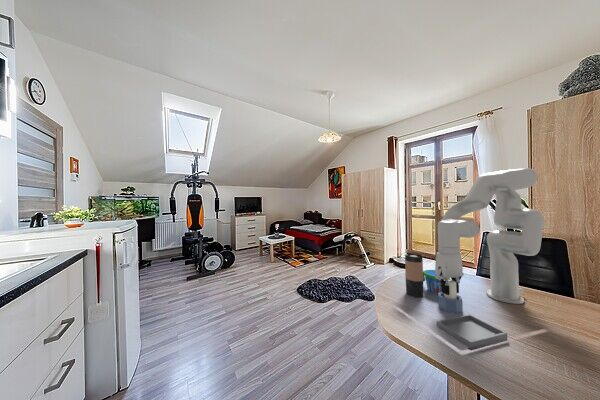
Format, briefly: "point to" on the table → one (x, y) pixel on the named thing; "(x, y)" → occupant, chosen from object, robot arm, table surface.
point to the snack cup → (432, 281)
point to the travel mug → (414, 275)
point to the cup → (450, 304)
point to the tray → (473, 331)
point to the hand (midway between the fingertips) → (450, 292)
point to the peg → (451, 290)
